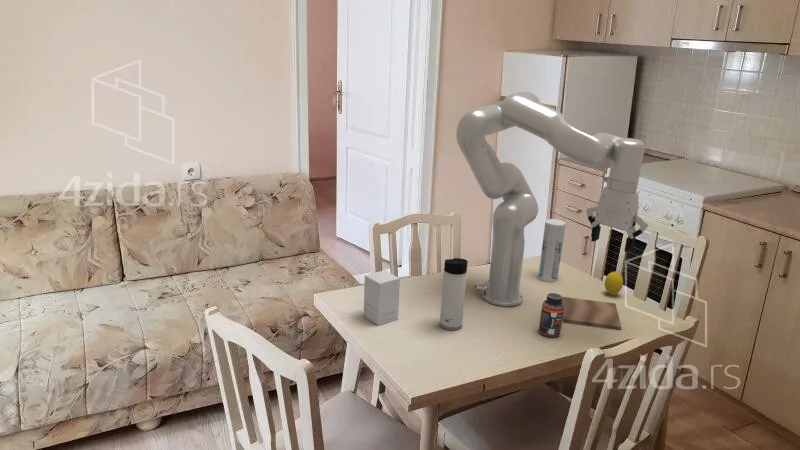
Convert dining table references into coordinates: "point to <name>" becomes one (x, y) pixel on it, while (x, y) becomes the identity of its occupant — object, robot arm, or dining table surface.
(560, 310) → the supplement bottle
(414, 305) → the dining table surface
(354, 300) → the dining table surface
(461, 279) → the travel mug
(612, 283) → the lemon
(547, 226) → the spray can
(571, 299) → the walnut board
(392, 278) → the supplement box
